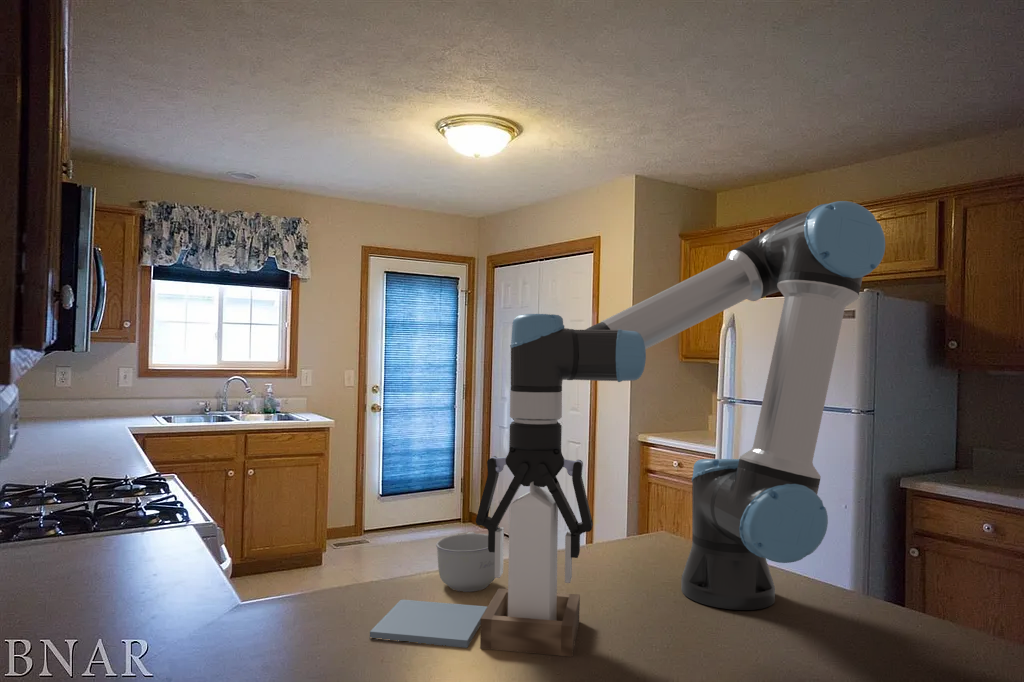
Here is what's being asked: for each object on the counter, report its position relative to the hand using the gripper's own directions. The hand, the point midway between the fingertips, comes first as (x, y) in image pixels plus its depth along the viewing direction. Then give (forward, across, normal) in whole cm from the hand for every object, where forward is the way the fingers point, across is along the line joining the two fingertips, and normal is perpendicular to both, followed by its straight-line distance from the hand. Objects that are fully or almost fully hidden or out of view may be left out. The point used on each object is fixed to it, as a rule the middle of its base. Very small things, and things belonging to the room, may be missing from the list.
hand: (533, 577), depth 97 cm
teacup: (+8, +14, -20) cm, 25 cm away
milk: (+8, 0, 0) cm, 8 cm away
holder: (+8, 0, 0) cm, 8 cm away
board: (+8, +15, 0) cm, 17 cm away
